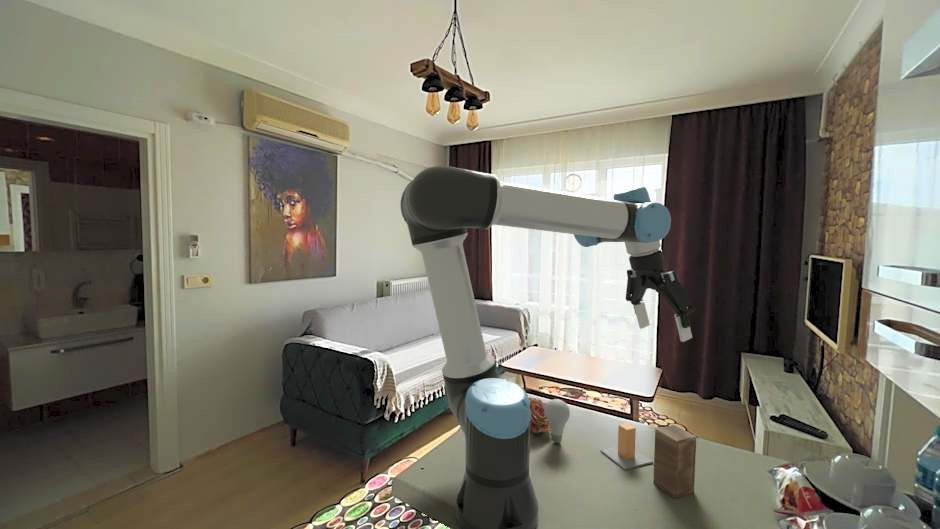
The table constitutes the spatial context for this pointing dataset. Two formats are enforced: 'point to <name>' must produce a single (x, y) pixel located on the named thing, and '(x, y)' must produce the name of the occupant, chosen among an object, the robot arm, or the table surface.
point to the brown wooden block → (674, 460)
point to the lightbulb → (557, 418)
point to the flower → (538, 416)
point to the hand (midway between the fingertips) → (664, 332)
